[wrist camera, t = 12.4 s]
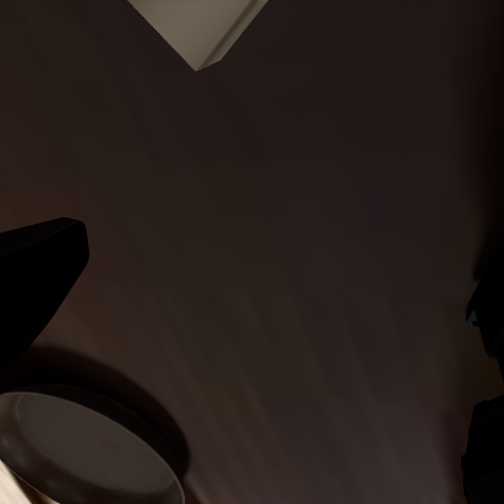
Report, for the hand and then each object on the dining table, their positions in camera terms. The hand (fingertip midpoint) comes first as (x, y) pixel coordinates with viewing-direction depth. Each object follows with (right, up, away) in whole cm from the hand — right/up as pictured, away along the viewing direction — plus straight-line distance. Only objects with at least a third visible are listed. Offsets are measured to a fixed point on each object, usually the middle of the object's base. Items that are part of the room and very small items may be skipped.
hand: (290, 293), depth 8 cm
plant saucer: (-16, -18, +33) cm, 41 cm away
